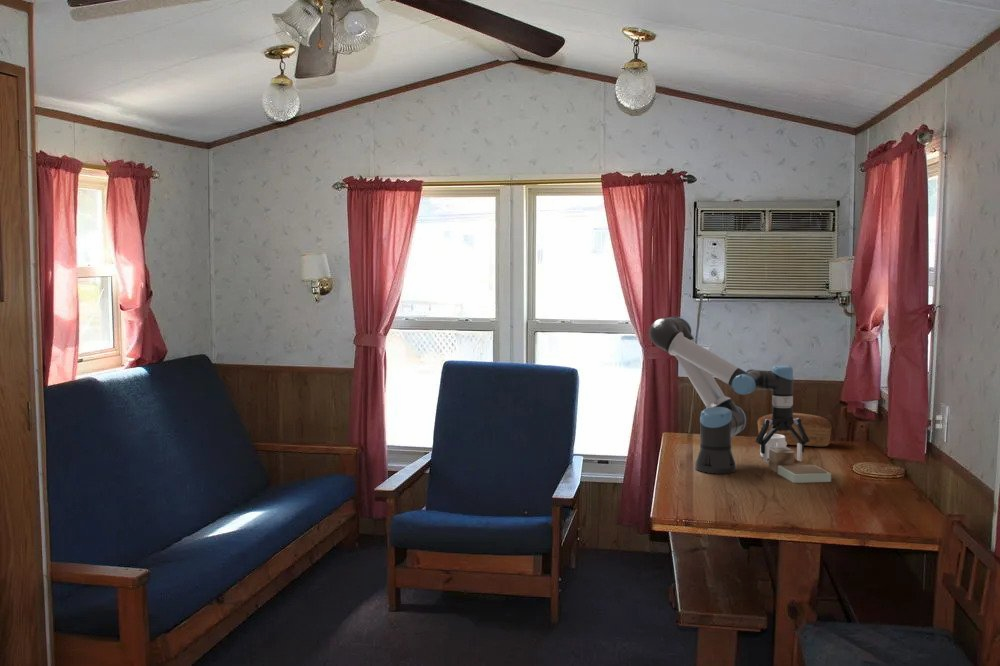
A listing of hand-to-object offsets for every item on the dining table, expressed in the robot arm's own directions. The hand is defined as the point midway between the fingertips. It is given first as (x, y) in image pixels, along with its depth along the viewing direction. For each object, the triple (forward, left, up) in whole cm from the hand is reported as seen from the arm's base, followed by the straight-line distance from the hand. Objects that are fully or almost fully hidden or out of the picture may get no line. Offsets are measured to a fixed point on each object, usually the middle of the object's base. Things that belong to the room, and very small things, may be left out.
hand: (782, 461), depth 327 cm
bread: (+25, +46, -4) cm, 52 cm away
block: (0, 0, -3) cm, 3 cm away
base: (+3, -13, -3) cm, 14 cm away
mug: (+5, +19, -4) cm, 20 cm away
